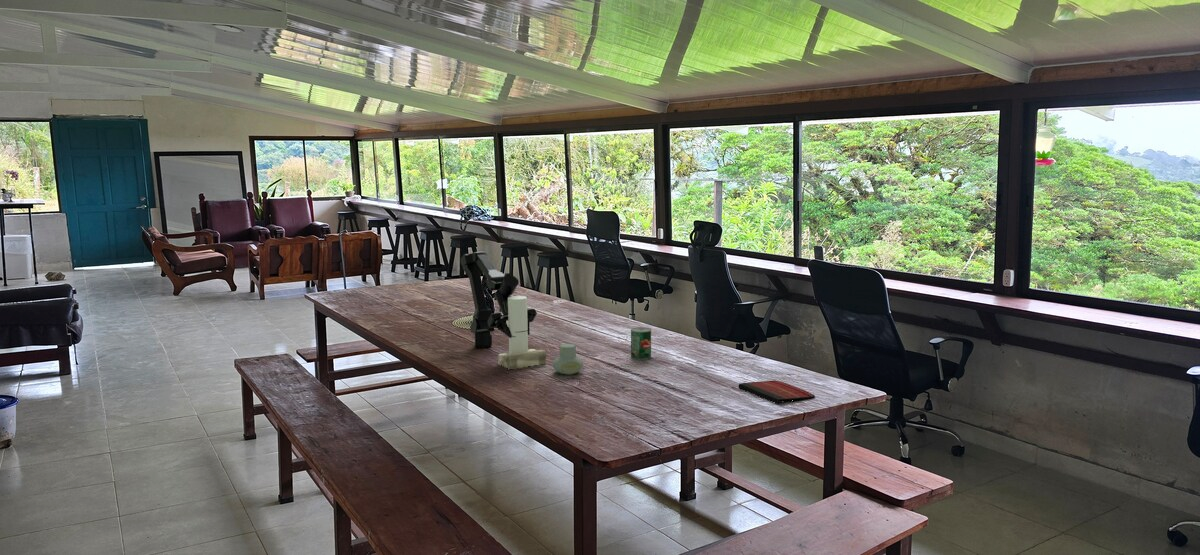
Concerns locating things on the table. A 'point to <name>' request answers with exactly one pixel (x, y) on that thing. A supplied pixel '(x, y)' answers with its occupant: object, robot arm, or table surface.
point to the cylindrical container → (518, 324)
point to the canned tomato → (640, 343)
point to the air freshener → (567, 360)
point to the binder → (776, 391)
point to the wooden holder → (522, 359)
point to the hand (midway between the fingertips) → (519, 336)
